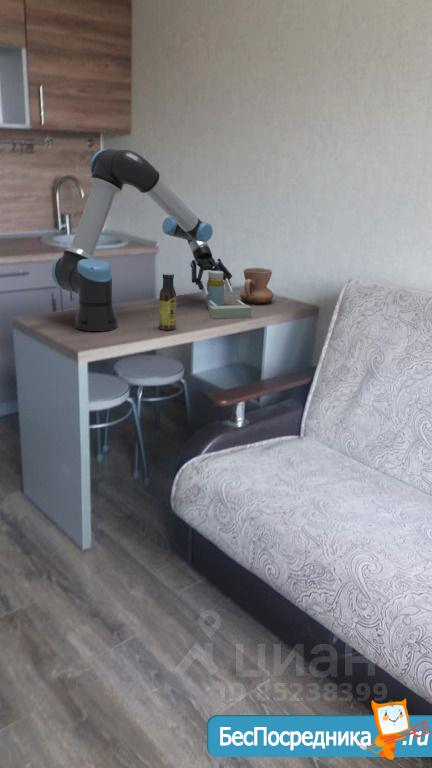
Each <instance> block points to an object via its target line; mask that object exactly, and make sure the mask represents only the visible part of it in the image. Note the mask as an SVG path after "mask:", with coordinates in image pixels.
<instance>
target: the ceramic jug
mask: <svg viewBox="0 0 432 768" xmlns="http://www.w3.org/2000/svg"><path fill="white" fill-rule="evenodd" d="M272 274H273V270H272V269H271V268H265V267H248V268H245V269H243V275H244V279H245V281H244V286H243V287H244V289H243V290H241V291H240V293H239V297H240V298H241V299H242V301H244V302H247V303H249V304H254V303H256V304H261V303H262V304H266V303H269V302H271V301H272V300H273V298H274V293H273V291H272V290H270V289H269V288H268V287H267V286H268V284H269V282H270V280H271V277H272ZM262 304H261V305H262Z"/></svg>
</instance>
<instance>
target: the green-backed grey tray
mask: <svg viewBox="0 0 432 768" xmlns="http://www.w3.org/2000/svg"><path fill="white" fill-rule="evenodd" d="M207 310H208V313H209V314H208V315H209V318H211V320H217V319H219V320H220V319H244V318H245V319H246V318H247V319H249V318H252V307H251V306H250V305H249V304H245V303H244V302H243V301H242V300H240V299H236V300H235V305H223V306H217V305H216V304H215V303H214V302H213V301H209V306H208V308H207Z"/></svg>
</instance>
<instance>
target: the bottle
mask: <svg viewBox="0 0 432 768" xmlns="http://www.w3.org/2000/svg"><path fill="white" fill-rule="evenodd" d="M207 278H208V280H207V283H206V289H207V292H208V295H207V296H206V303H205V305H206V308H207V309H208V306H209V301H213V302H214V303H215V304H216V305H217V306H224V297H225V296H224V294H225V291H224V290H225V285H224V280H223V272H222V271H211V270H208V277H207Z"/></svg>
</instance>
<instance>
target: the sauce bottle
mask: <svg viewBox="0 0 432 768" xmlns="http://www.w3.org/2000/svg"><path fill="white" fill-rule="evenodd" d="M174 279H175V274H174V273H173V272H164V273H162V287H161V289H160V291H159V300H158V301H159V304H158V323H159V324H158V326H159V329H160V330H165V331H169V330H171V331H172V330H175V329H176V325H177V300H178V298H177V293H176V291H175V290H176V289H175V287H174Z"/></svg>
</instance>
